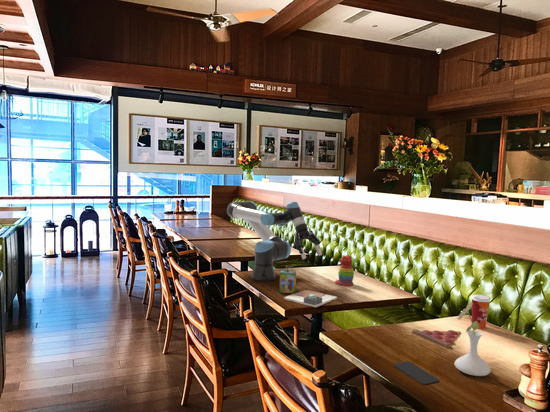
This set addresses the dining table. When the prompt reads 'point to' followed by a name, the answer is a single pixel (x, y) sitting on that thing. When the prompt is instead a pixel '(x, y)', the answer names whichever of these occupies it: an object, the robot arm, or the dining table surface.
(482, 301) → the paper cup
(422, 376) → the phone
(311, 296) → the button
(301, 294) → the picture board
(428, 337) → the pizza slice
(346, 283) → the stacking bear
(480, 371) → the flower in vase
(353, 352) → the dining table surface
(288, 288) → the chalk box
